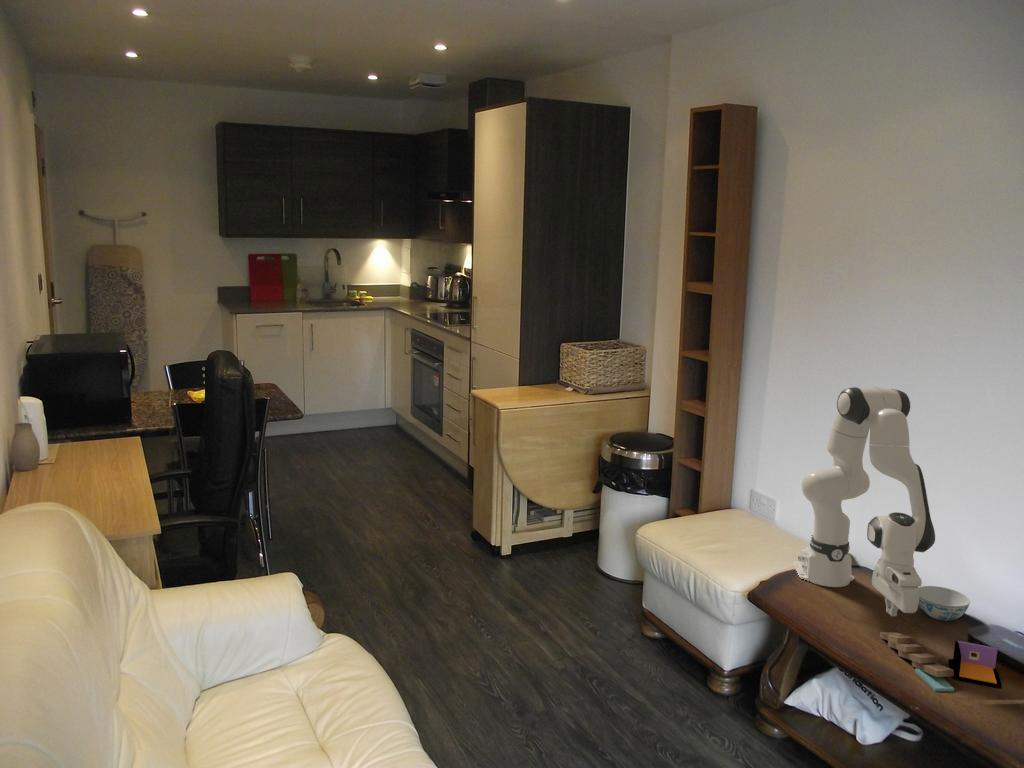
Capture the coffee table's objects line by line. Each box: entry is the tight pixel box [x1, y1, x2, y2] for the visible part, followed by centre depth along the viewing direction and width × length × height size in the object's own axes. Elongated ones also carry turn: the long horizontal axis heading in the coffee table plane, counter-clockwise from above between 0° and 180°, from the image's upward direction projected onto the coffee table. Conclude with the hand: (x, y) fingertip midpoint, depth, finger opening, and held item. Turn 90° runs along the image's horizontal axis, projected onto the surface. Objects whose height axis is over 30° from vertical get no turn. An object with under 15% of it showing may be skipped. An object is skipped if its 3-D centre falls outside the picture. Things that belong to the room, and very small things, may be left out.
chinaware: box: [918, 585, 971, 622], centre depth 258 cm, size 15×15×8 cm
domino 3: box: [897, 650, 939, 664], centre depth 230 cm, size 5×2×10 cm
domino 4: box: [911, 660, 954, 678], centre depth 224 cm, size 5×2×10 cm
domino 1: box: [879, 631, 916, 644], centre depth 240 cm, size 5×2×10 cm
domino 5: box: [914, 668, 955, 692], centre depth 221 cm, size 5×2×10 cm
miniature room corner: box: [948, 640, 1003, 690], centre depth 225 cm, size 12×12×7 cm
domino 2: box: [887, 640, 925, 653], centre depth 235 cm, size 5×2×10 cm
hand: (891, 614), depth 243 cm, fingers closed
